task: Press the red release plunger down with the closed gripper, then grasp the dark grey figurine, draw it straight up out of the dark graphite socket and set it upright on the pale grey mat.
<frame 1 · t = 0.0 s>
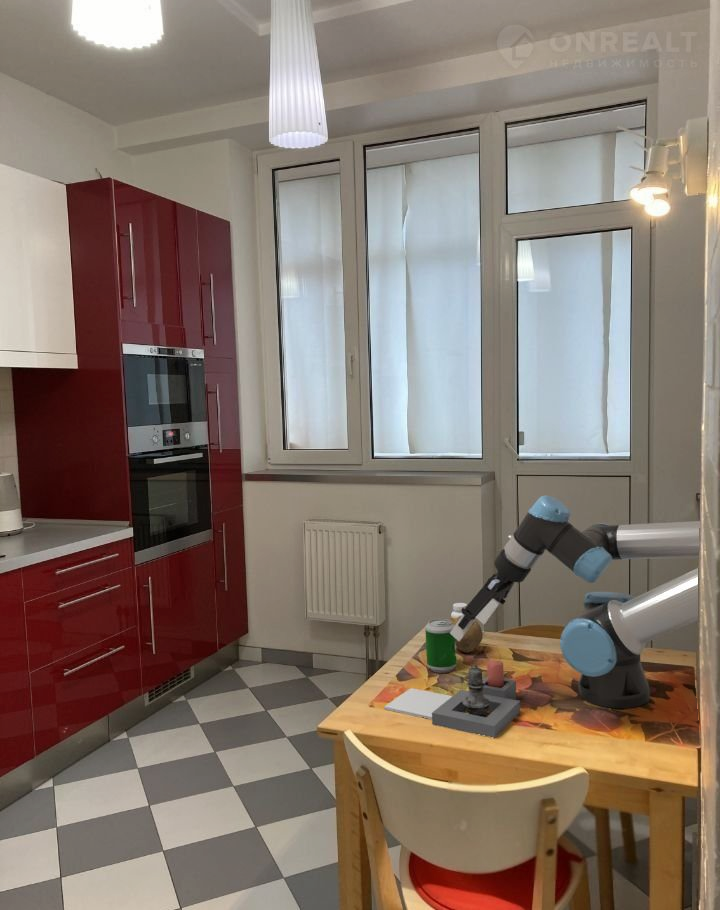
hand: (467, 628, 170), 15 cm above the table, tool tilted 35°, fingers open, 13 cm apart
dark grey figurine: (476, 719, 158), resting in socket housing
grey mat: (421, 704, 167), on the table
supplement bottle: (461, 638, 212), on the table
socket housing: (476, 718, 158), on the table
release plunger: (495, 676, 166), point 5 cm above the table, slide at 0.0 cm
soda can: (441, 669, 188), on the table
brown potato: (465, 652, 200), on the table
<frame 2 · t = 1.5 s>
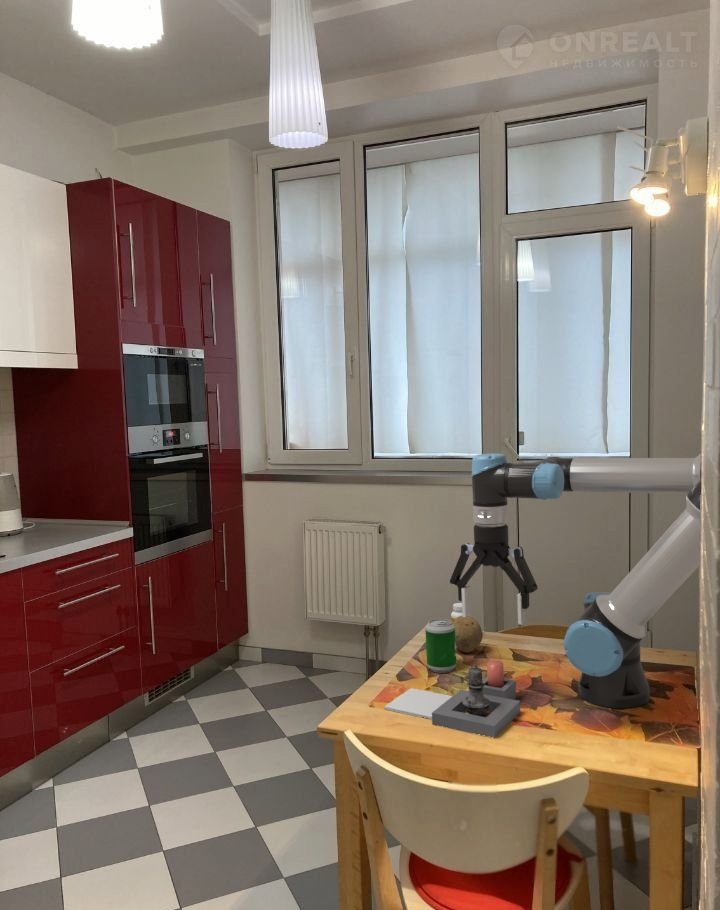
hand: (493, 619, 166), 19 cm above the table, tool pointing down, fingers open, 12 cm apart
nothing on the table moved.
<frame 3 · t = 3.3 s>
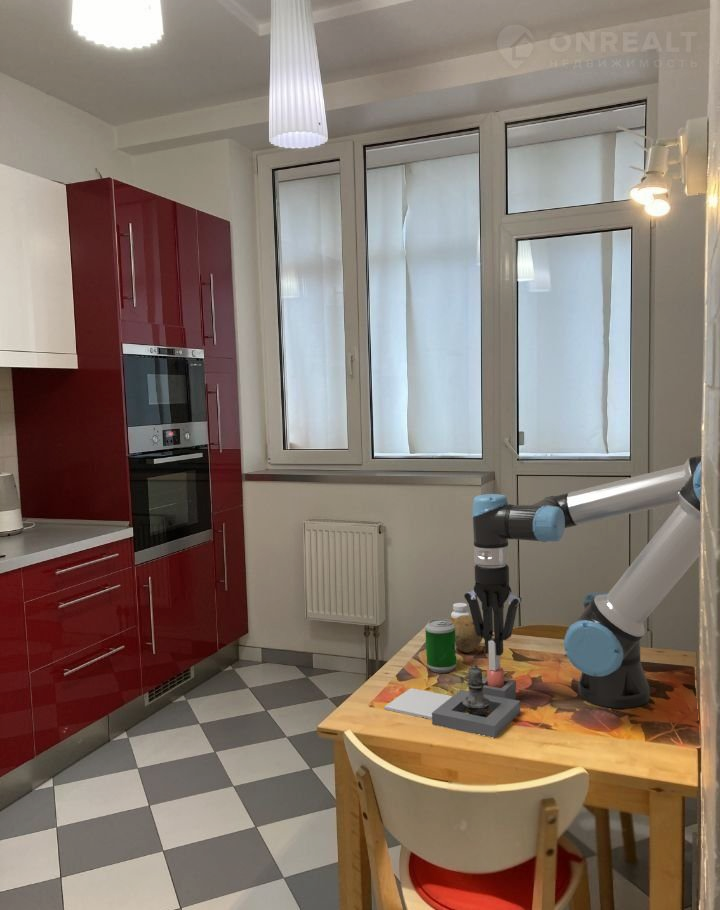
hand: (494, 668, 166), 7 cm above the table, tool pointing down, fingers closed
release plunger: (495, 682, 167), point 4 cm above the table, slide at 1.4 cm, touching gripper
everything else where it was.
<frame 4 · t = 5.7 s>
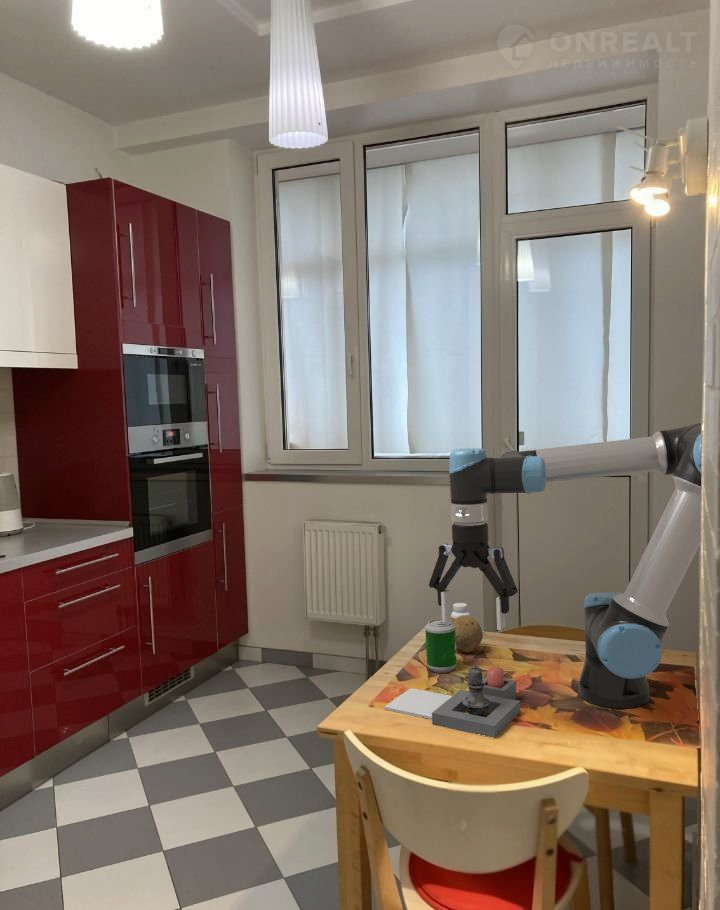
hand: (473, 624, 157), 20 cm above the table, tool pointing down, fingers open, 12 cm apart
release plunger: (495, 683, 167), point 4 cm above the table, slide at 1.5 cm
everything else where it was.
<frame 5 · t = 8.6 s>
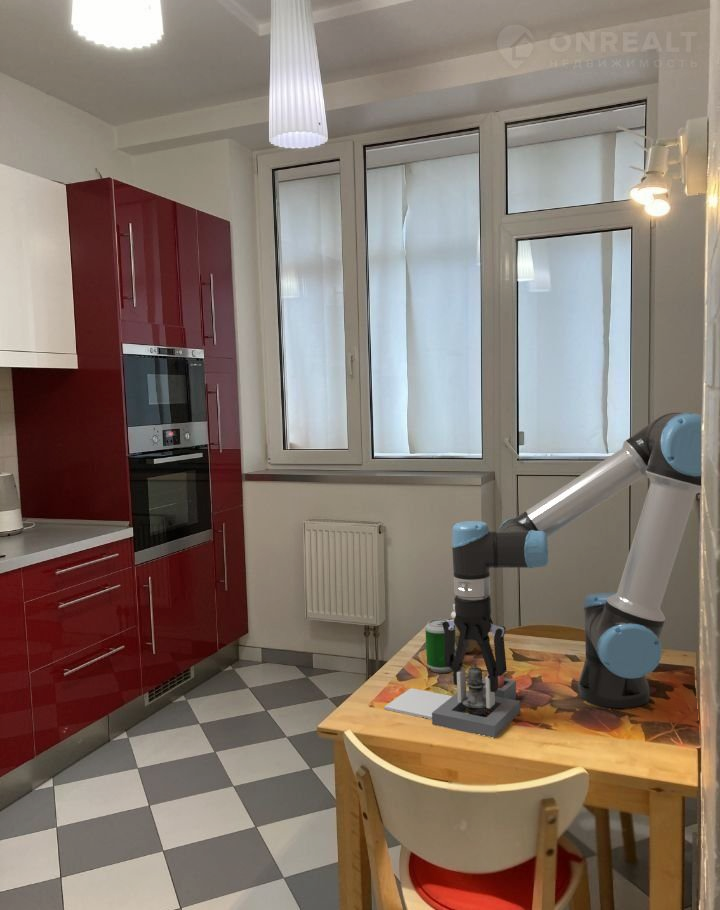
hand: (476, 702, 158), 3 cm above the table, tool pointing down, fingers closed on dark grey figurine, 6 cm apart
dark grey figurine: (476, 719, 158), resting in socket housing, touching gripper
everything else where it was.
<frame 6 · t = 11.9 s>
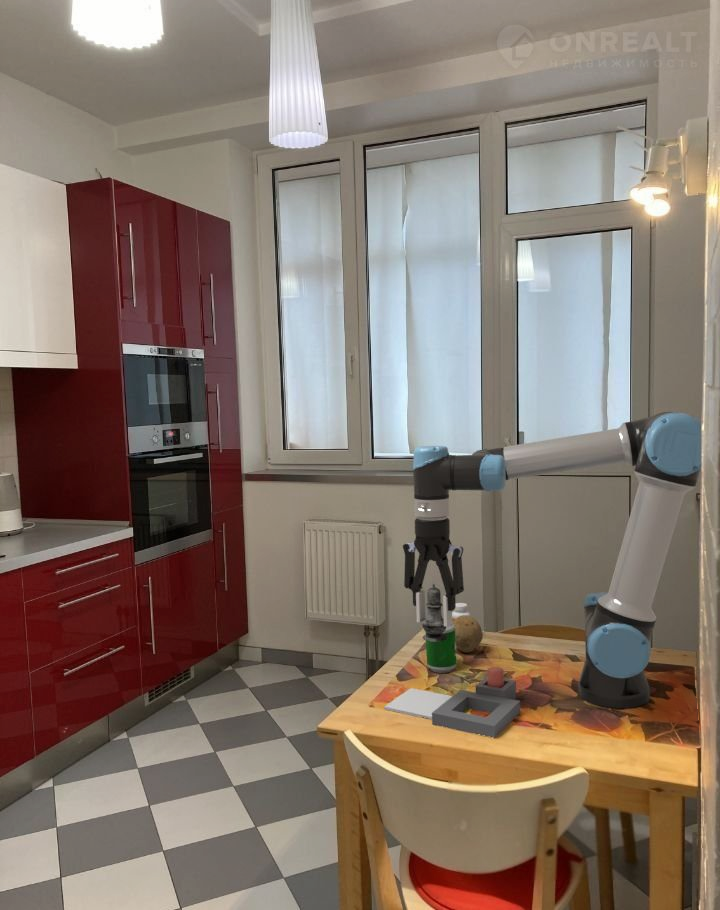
hand: (434, 622, 162), 19 cm above the table, tool pointing down, fingers closed on dark grey figurine, 6 cm apart
dark grey figurine: (434, 638, 162), point 16 cm above the table, touching gripper
everything else where it was.
when the fingers open (5 cm above the table, at t = 15.6 s): dark grey figurine drops 1 cm, resting on grey mat.
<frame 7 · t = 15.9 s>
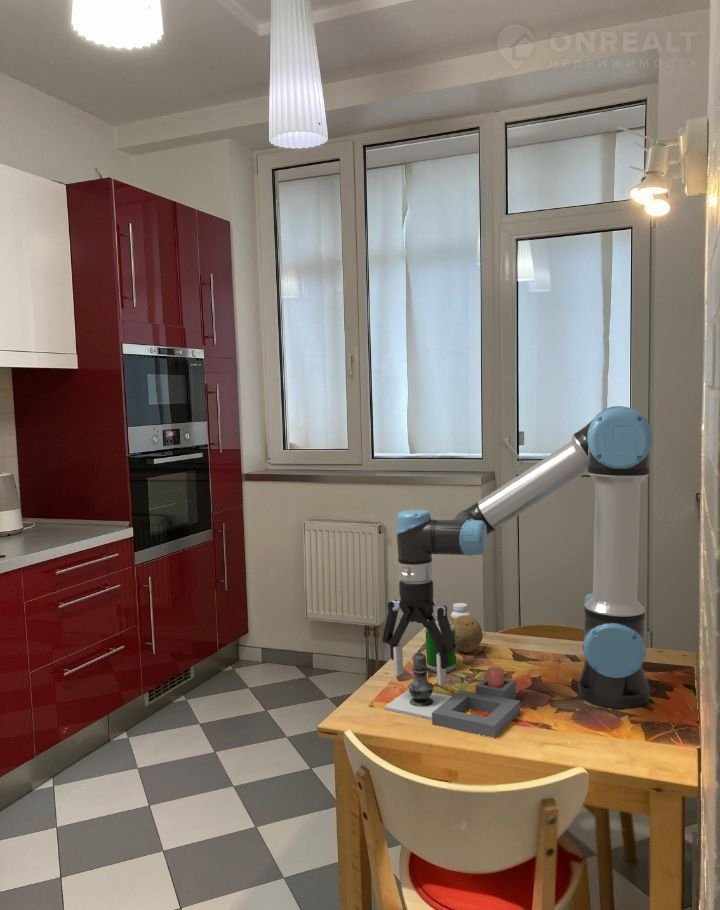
hand: (420, 678, 166), 6 cm above the table, tool pointing down, fingers open, 10 cm apart
dark grey figurine: (421, 702, 167), resting on grey mat
everything else where it was.
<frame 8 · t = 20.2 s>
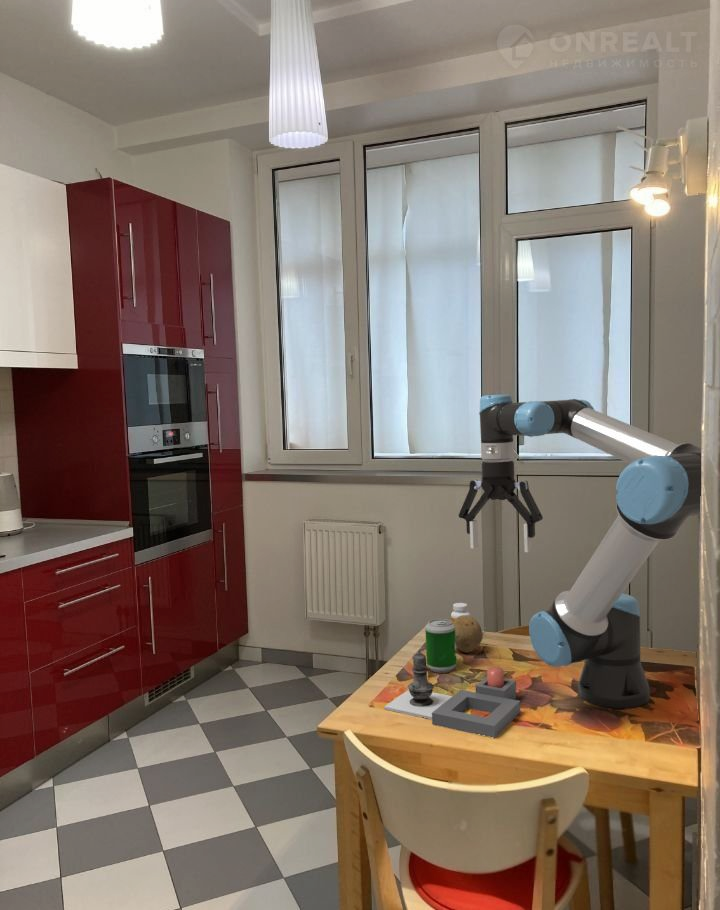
hand: (500, 549, 177), 32 cm above the table, tool pointing down, fingers open, 13 cm apart
nothing on the table moved.
at the end: dark grey figurine inside the target area on the grey mat (0.1 cm from its centre), point 0.4 cm above the grey mat's base; dark grey figurine tilted 0°; release plunger slide at 1.5 cm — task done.
